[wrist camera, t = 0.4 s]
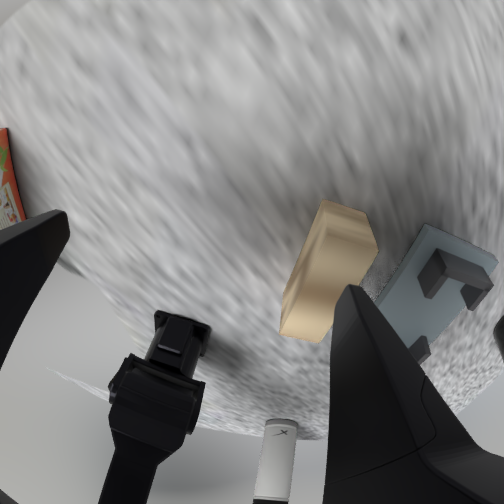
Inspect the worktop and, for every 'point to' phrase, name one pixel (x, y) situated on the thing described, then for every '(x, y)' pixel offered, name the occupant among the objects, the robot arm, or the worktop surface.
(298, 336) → the slat
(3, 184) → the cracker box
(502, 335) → the supplement bottle
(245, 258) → the worktop surface
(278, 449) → the travel mug
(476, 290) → the board
